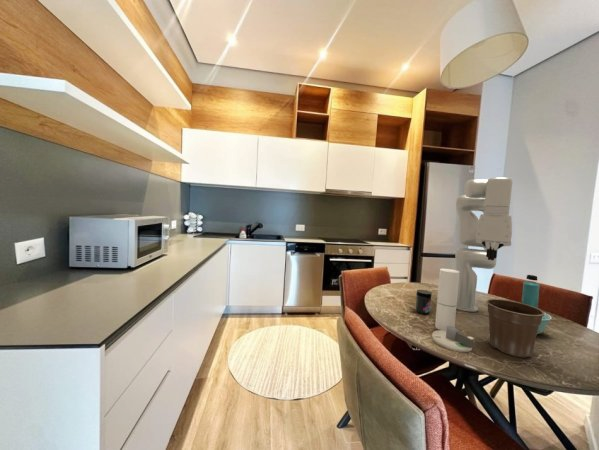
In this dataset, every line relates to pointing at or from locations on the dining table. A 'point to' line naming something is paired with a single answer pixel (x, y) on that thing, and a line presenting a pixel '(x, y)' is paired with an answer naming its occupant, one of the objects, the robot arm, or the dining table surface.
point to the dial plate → (449, 342)
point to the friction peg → (459, 336)
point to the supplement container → (423, 302)
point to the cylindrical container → (447, 298)
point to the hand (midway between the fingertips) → (491, 259)
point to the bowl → (544, 323)
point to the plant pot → (513, 326)
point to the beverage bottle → (530, 292)
